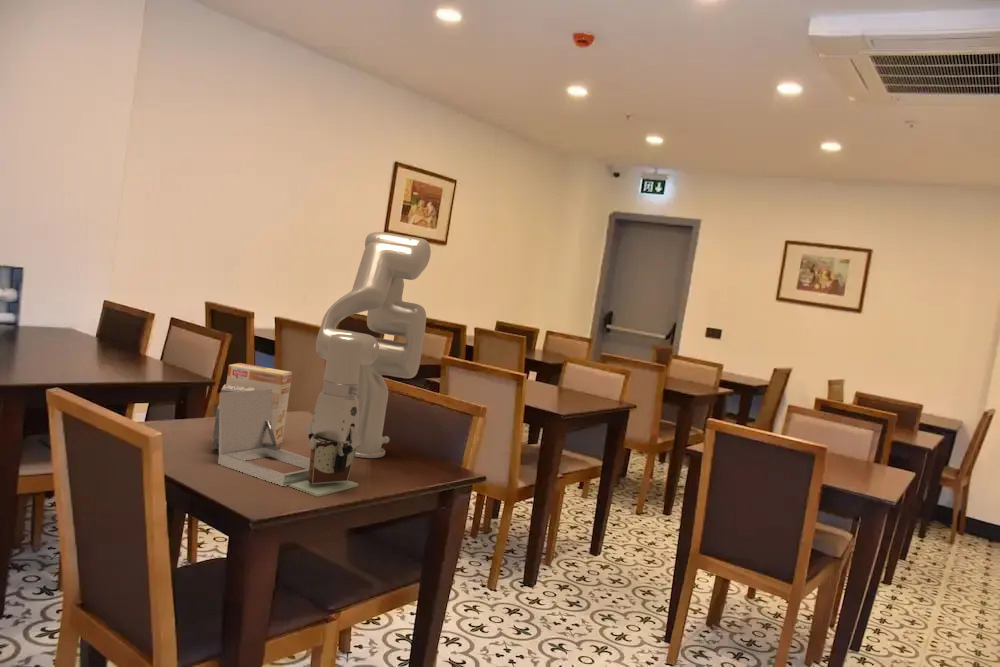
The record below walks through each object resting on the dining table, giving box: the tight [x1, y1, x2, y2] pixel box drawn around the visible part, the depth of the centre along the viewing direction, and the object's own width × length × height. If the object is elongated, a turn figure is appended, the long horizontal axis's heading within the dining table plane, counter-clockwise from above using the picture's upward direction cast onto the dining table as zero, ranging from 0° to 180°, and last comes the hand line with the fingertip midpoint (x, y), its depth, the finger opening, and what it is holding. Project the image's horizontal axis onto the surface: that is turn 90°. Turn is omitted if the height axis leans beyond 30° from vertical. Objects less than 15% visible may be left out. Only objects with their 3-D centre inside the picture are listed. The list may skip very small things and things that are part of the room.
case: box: [217, 389, 310, 487], centre depth 176 cm, size 16×23×16 cm
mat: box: [289, 479, 359, 498], centre depth 169 cm, size 14×8×1 cm, turn 153°
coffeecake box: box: [225, 362, 293, 445], centre depth 199 cm, size 15×7×20 cm, turn 84°
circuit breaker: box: [212, 383, 255, 451], centre depth 186 cm, size 8×14×15 cm, turn 15°
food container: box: [308, 433, 359, 484], centre depth 169 cm, size 12×6×10 cm, turn 136°
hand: (327, 467), depth 169 cm, fingers closed on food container, 5 cm apart
